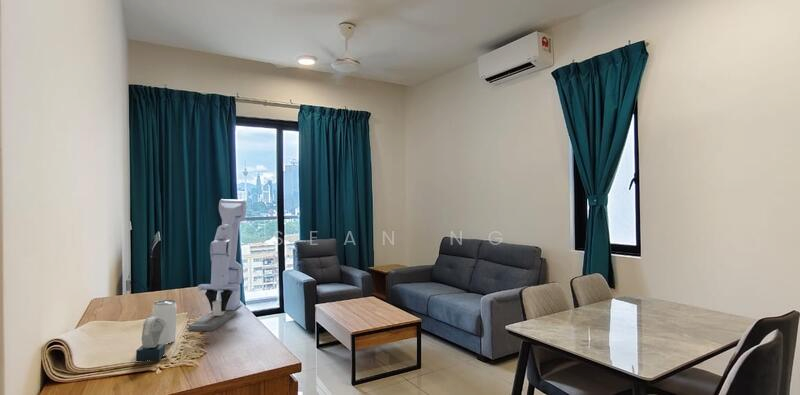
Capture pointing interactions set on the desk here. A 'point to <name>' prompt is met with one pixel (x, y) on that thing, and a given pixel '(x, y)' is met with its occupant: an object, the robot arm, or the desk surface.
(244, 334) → the desk surface
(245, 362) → the desk surface
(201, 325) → the console
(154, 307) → the can
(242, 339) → the desk surface
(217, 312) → the fader tab
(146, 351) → the grey statuette
